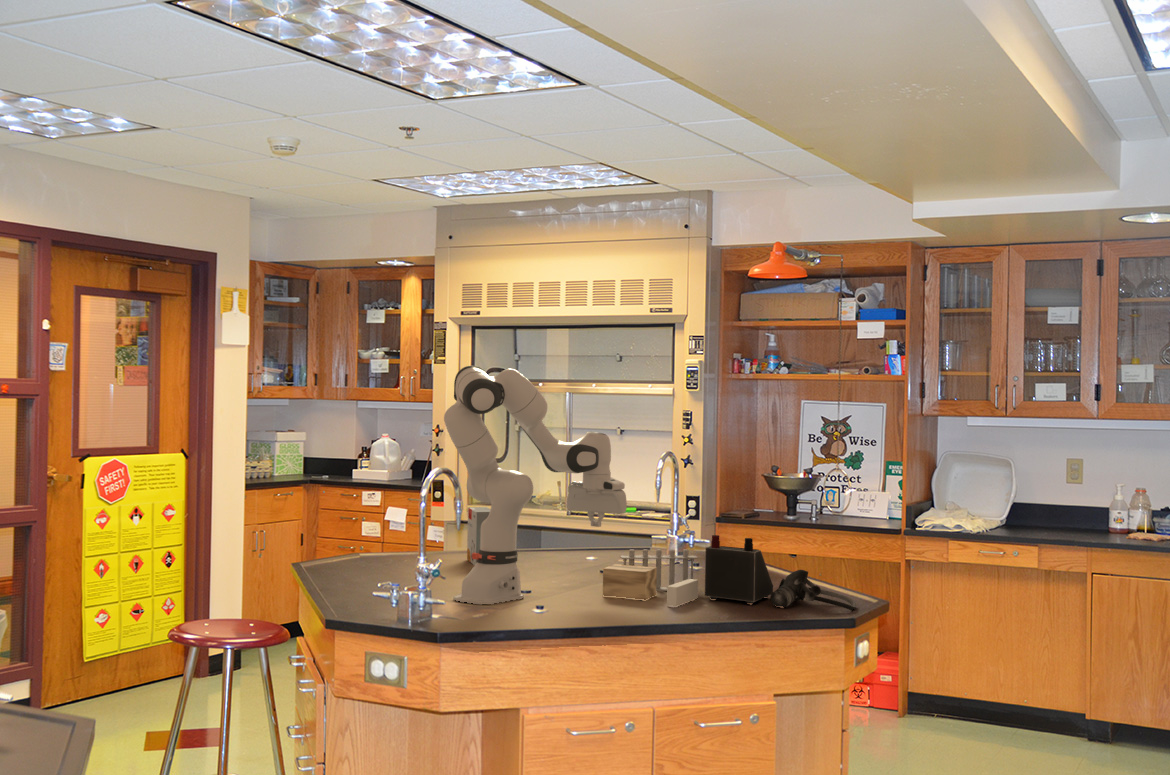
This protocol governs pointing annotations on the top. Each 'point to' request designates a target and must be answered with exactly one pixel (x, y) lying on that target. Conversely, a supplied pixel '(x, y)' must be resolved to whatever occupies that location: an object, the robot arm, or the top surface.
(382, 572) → the top surface
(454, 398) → the robot arm
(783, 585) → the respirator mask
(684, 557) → the test tube rack
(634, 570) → the oak block
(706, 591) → the voltmeter
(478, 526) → the hard drive box
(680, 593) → the board
